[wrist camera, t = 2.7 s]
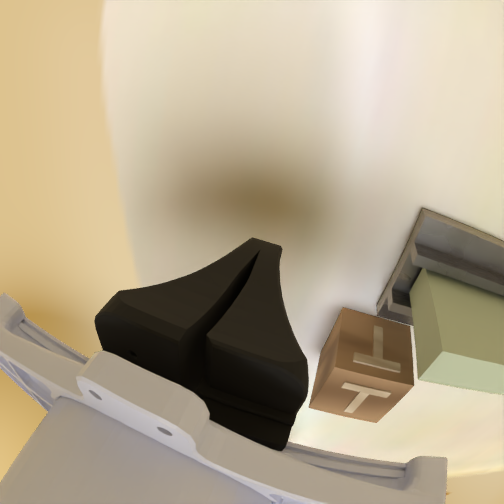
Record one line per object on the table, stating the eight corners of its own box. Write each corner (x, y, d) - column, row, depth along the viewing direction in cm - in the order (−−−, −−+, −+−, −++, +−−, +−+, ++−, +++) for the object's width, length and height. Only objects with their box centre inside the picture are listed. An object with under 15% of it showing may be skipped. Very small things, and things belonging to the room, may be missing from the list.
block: (379, 367, 22) (376, 424, 18) (320, 352, 22) (308, 408, 18) (410, 323, 19) (415, 385, 15) (343, 304, 19) (335, 366, 15)
